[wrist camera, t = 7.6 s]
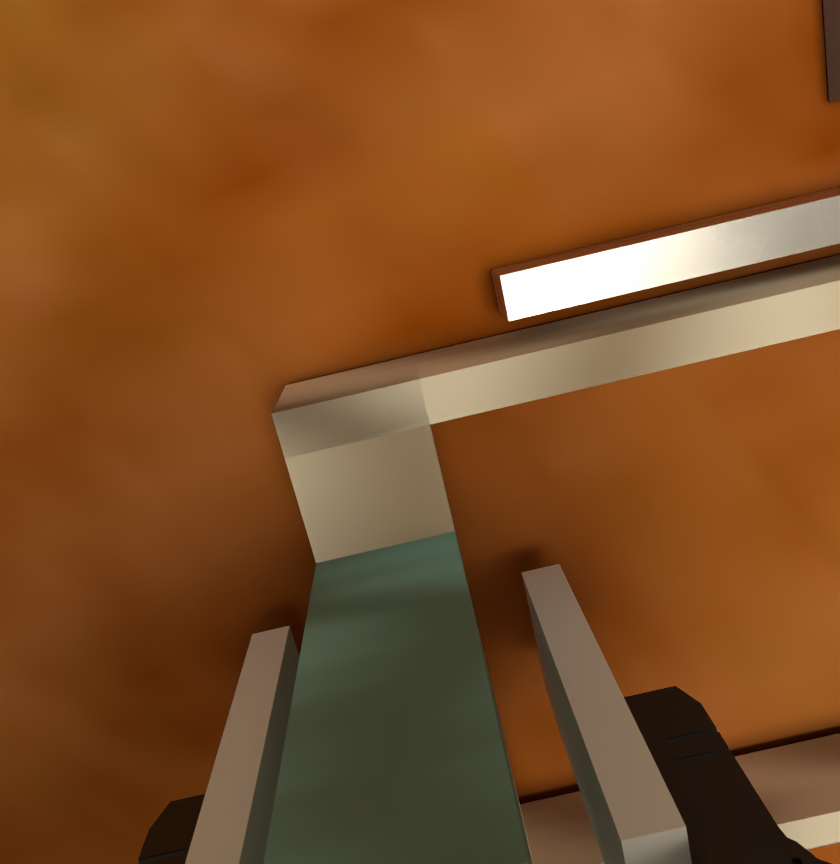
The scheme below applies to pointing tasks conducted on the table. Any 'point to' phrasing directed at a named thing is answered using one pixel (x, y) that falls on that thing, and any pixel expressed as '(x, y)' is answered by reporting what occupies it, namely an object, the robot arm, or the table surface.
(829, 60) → the coaster
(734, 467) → the table surface
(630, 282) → the lanes
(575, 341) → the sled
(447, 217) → the table surface
